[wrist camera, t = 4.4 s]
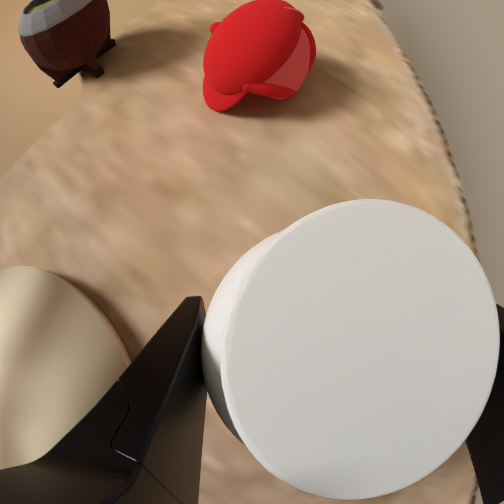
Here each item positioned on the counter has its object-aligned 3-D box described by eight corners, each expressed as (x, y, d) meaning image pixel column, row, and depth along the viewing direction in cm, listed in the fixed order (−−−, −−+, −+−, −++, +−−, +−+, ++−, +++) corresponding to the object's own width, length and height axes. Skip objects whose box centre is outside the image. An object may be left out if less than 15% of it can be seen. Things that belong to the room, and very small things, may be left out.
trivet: (178, 321, 15) (171, 319, 13) (123, 542, 11) (117, 552, 10) (-12, 242, 16) (-23, 237, 14) (-42, 429, 12) (-52, 430, 11)
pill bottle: (358, 286, 15) (519, 195, 5) (345, 408, 14) (494, 500, 3) (235, 271, 15) (207, 129, 5) (218, 397, 14) (149, 521, 3)
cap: (268, 5, 17) (198, -13, 13) (337, 15, 14) (266, -16, 10) (244, 101, 22) (175, 101, 18) (304, 127, 19) (232, 130, 15)
